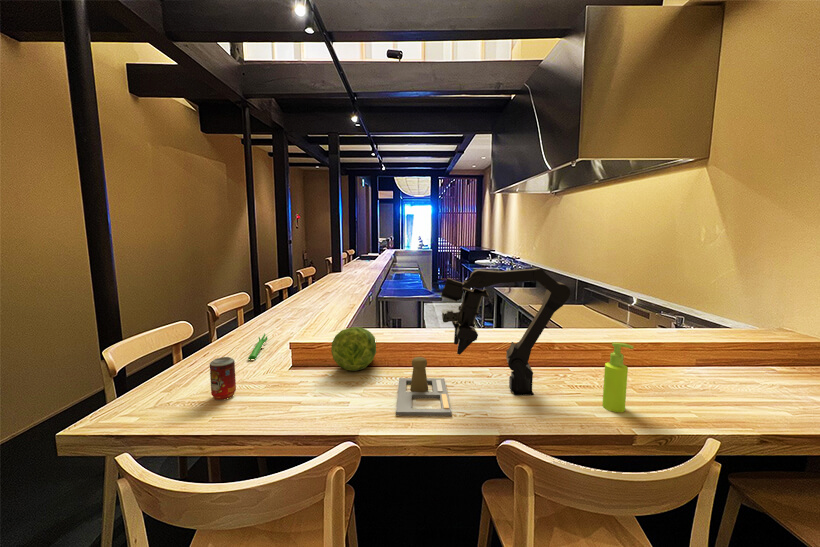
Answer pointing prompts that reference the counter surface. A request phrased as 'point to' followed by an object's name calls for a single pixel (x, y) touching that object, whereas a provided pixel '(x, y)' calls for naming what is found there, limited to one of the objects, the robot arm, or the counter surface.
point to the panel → (406, 397)
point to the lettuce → (354, 348)
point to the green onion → (257, 348)
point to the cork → (419, 375)
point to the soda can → (222, 378)
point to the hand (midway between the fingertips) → (456, 349)
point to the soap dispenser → (615, 380)
